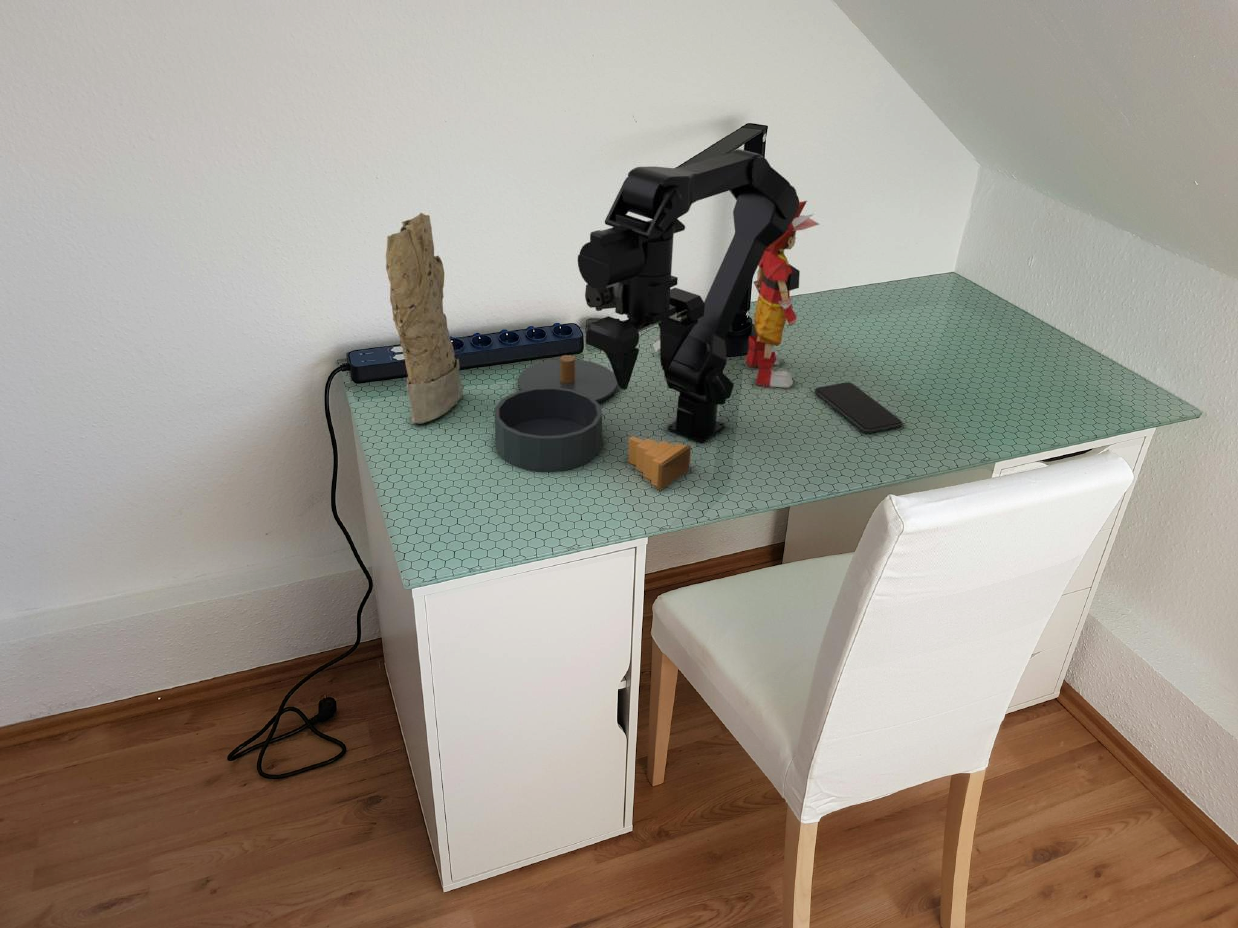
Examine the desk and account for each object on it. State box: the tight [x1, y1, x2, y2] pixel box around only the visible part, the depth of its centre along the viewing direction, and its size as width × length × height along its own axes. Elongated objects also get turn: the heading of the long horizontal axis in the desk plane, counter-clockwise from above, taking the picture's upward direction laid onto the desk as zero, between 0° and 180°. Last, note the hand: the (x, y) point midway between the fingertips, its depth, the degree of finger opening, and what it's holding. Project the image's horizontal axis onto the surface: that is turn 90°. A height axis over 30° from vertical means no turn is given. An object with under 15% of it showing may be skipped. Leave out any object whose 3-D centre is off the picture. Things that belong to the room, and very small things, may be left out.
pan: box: [493, 387, 603, 473], centre depth 143 cm, size 15×15×6 cm
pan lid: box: [517, 354, 618, 403], centre depth 159 cm, size 16×16×5 cm
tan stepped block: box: [627, 435, 692, 492], centre depth 138 cm, size 8×7×4 cm
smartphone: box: [814, 381, 904, 434], centre depth 156 cm, size 7×1×15 cm
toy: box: [744, 200, 820, 389], centre depth 159 cm, size 12×9×30 cm
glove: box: [385, 212, 464, 424], centre depth 147 cm, size 14×10×30 cm
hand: (644, 377), depth 136 cm, fingers open, 9 cm apart
